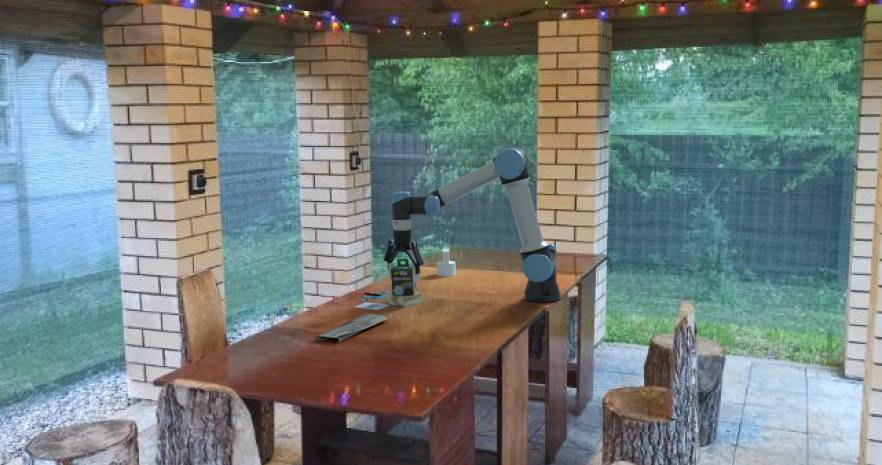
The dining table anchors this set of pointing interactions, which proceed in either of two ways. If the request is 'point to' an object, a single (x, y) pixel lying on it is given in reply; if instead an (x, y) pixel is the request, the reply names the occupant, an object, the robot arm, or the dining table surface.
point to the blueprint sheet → (372, 306)
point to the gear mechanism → (374, 295)
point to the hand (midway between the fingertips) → (404, 280)
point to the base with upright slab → (446, 265)
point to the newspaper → (352, 327)
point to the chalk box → (403, 279)
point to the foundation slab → (404, 299)
